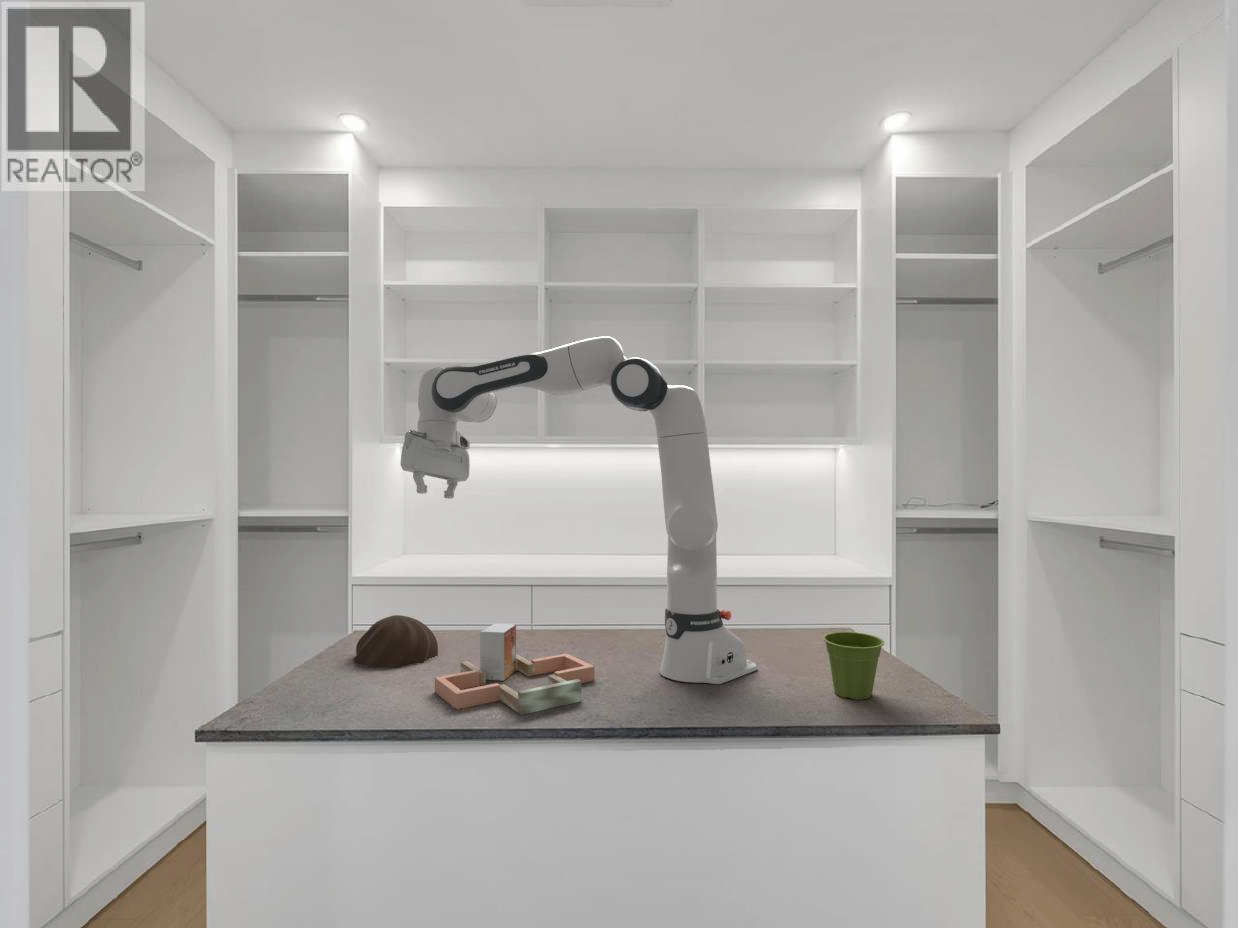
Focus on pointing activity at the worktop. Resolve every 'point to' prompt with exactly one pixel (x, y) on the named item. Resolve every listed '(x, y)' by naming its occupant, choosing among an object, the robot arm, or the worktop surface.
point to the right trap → (565, 667)
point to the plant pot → (853, 662)
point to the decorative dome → (396, 643)
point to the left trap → (465, 698)
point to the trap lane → (533, 689)
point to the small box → (498, 651)
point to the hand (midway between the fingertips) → (435, 495)
